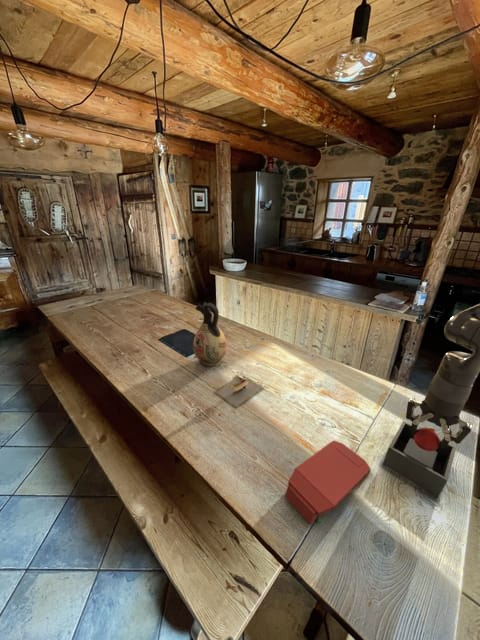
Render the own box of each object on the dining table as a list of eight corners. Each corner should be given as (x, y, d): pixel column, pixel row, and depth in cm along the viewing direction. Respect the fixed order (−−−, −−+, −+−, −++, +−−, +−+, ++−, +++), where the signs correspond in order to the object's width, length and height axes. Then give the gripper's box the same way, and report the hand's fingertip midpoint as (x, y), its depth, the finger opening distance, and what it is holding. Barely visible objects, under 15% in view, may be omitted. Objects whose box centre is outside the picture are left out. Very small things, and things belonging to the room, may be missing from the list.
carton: (332, 450, 86) (279, 490, 70) (335, 438, 84) (282, 477, 69) (367, 479, 77) (317, 532, 62) (373, 466, 76) (322, 518, 60)
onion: (414, 455, 73) (423, 434, 69) (407, 437, 78) (415, 417, 74) (438, 459, 71) (448, 438, 68) (430, 442, 76) (439, 421, 73)
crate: (396, 438, 86) (403, 420, 83) (446, 465, 78) (456, 447, 74) (381, 465, 77) (388, 447, 74) (436, 500, 69) (447, 481, 66)
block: (405, 448, 82) (410, 437, 79) (432, 463, 77) (437, 452, 75) (398, 463, 77) (403, 452, 75) (426, 480, 73) (432, 468, 71)
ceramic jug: (187, 361, 124) (181, 301, 110) (211, 348, 134) (209, 292, 121) (211, 376, 113) (209, 313, 100) (236, 361, 124) (236, 301, 111)
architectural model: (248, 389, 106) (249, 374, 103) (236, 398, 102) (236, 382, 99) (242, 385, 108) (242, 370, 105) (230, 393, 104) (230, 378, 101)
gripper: (487, 398, 63) (461, 447, 71) (419, 372, 72) (401, 417, 80) (484, 415, 59) (456, 465, 66) (411, 385, 68) (393, 432, 75)
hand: (426, 439), depth 73 cm, fingers closed on onion, 6 cm apart
